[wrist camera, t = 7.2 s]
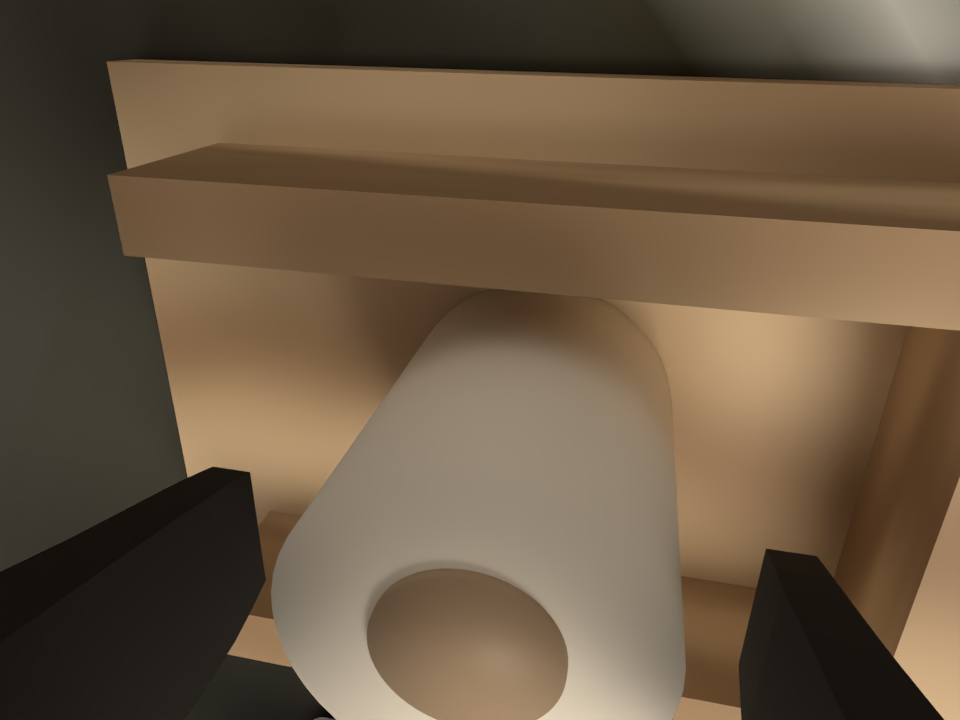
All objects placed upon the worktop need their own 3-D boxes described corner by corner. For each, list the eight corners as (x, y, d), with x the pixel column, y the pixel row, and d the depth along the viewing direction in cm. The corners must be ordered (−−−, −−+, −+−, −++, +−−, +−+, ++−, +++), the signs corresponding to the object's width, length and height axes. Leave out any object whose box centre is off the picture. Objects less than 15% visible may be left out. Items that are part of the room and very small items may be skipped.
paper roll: (653, 530, 14) (654, 838, 9) (414, 493, 15) (285, 753, 10) (691, 297, 12) (723, 519, 7) (410, 270, 13) (242, 449, 8)
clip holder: (892, 675, 16) (955, 854, 12) (225, 558, 19) (130, 677, 15) (1108, 89, 10) (1321, 124, 7) (134, 59, 13) (-38, 73, 10)
